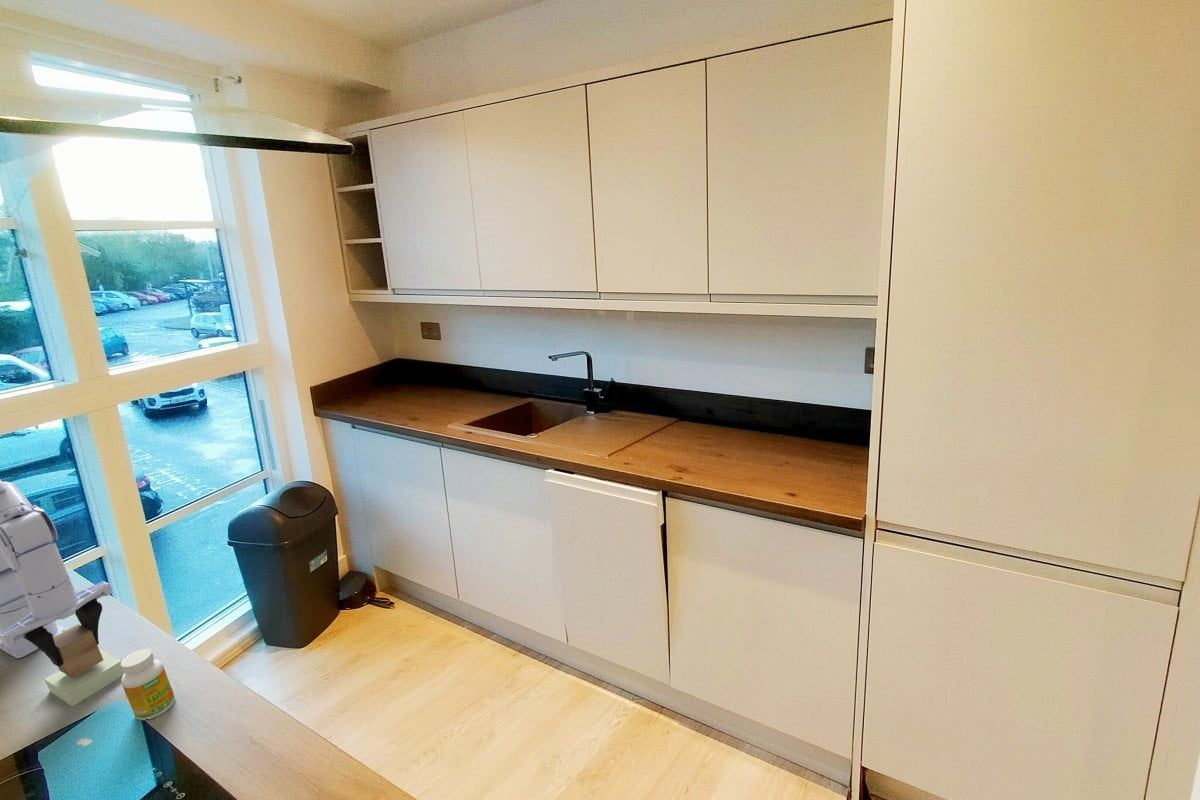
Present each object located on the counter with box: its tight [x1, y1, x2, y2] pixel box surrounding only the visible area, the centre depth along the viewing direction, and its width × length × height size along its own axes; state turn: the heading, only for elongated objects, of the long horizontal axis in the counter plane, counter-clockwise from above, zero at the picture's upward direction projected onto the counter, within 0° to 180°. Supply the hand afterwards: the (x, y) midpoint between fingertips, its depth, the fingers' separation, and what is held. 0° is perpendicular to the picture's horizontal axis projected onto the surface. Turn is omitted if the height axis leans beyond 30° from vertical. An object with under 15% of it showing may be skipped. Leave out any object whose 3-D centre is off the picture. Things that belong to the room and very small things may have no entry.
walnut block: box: [53, 623, 103, 678], centre depth 104 cm, size 4×4×6 cm
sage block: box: [43, 648, 124, 707], centre depth 106 cm, size 8×8×3 cm
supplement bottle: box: [120, 648, 176, 721], centre depth 97 cm, size 5×5×10 cm
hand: (76, 653), depth 104 cm, fingers closed on walnut block, 4 cm apart
